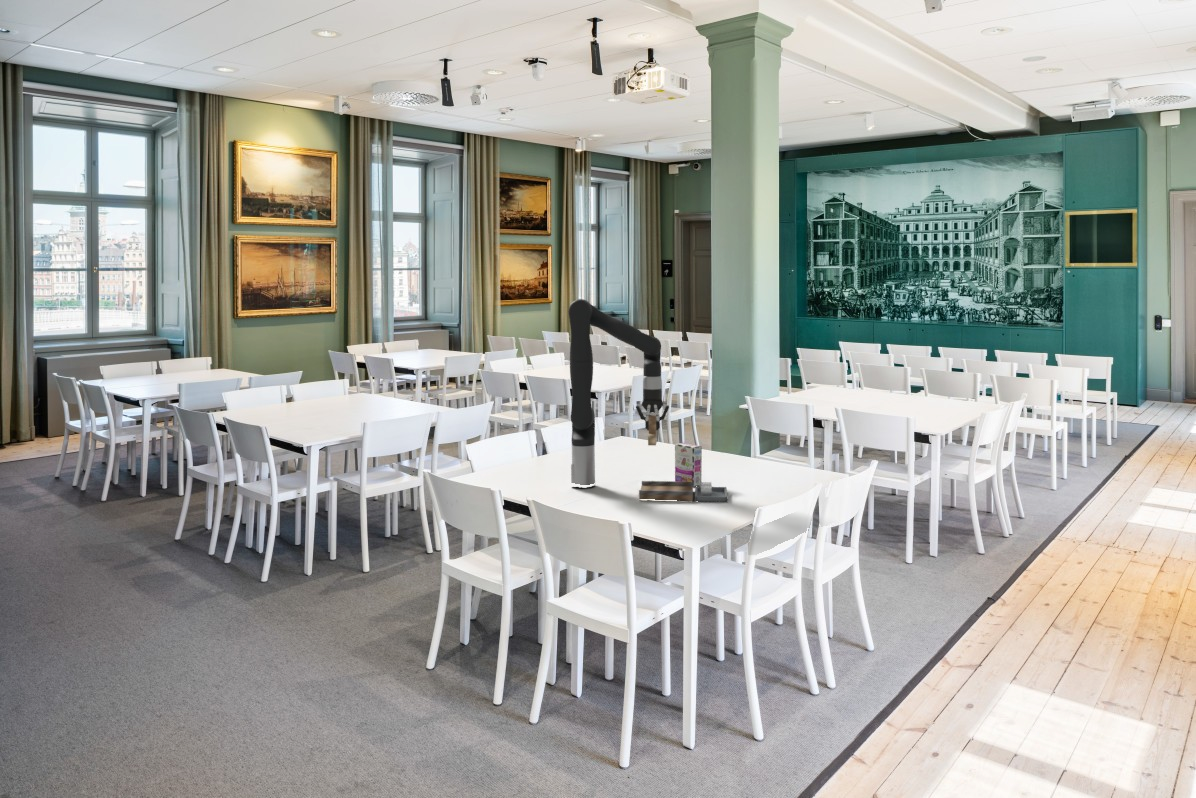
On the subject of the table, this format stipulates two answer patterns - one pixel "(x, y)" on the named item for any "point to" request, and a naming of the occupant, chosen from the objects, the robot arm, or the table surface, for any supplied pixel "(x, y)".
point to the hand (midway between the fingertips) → (652, 429)
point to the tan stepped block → (652, 430)
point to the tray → (717, 495)
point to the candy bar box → (688, 463)
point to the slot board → (666, 490)
